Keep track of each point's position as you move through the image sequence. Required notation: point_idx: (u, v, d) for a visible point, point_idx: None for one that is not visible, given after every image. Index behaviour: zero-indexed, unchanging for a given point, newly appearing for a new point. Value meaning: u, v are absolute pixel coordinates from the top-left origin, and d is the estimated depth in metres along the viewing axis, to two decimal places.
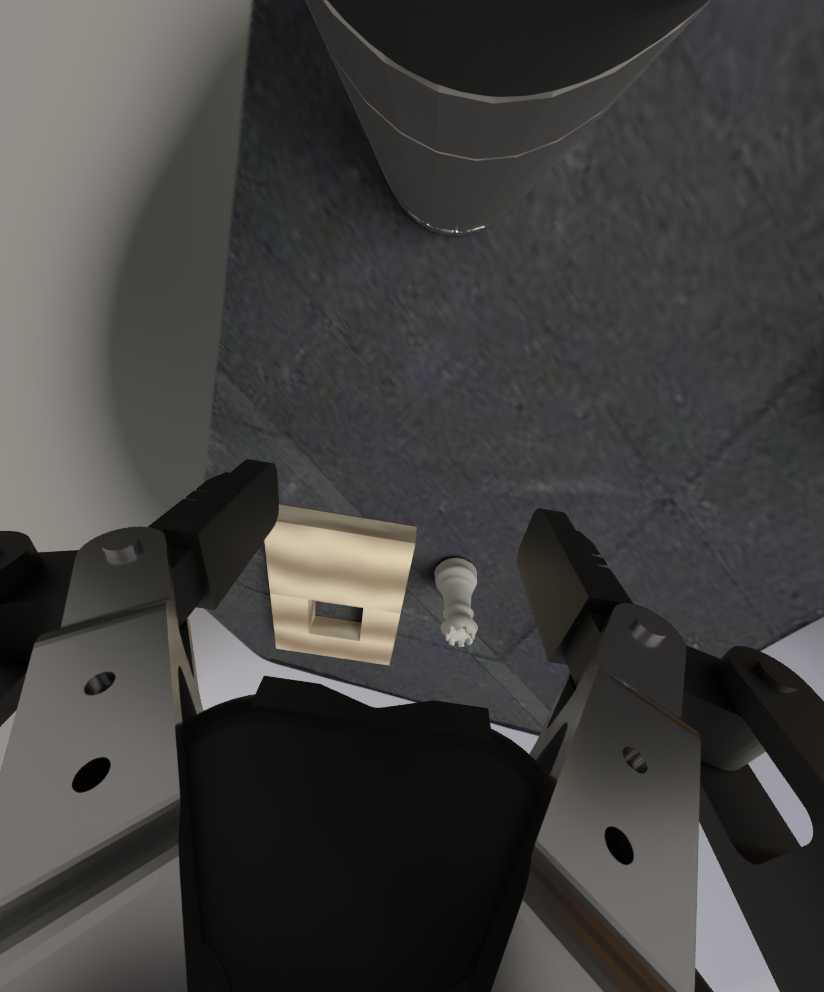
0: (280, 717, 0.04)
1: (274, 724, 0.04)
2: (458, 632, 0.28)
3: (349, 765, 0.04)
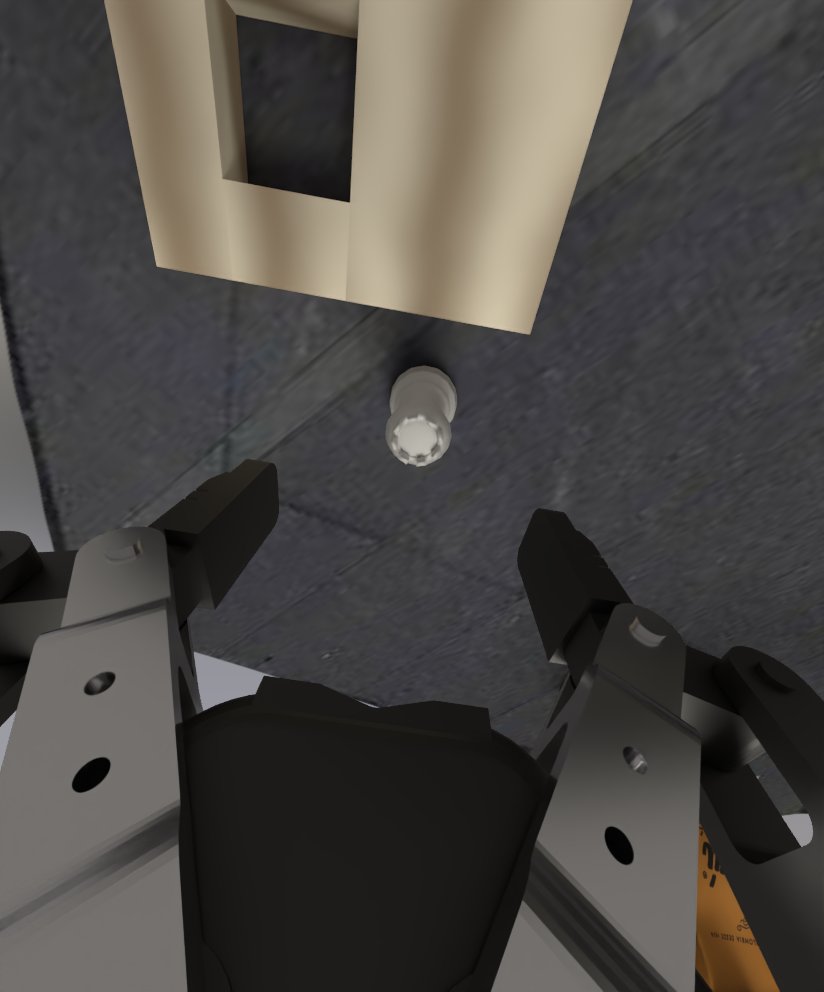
0: (280, 717, 0.04)
1: (274, 724, 0.04)
2: (425, 437, 0.16)
3: (349, 765, 0.04)
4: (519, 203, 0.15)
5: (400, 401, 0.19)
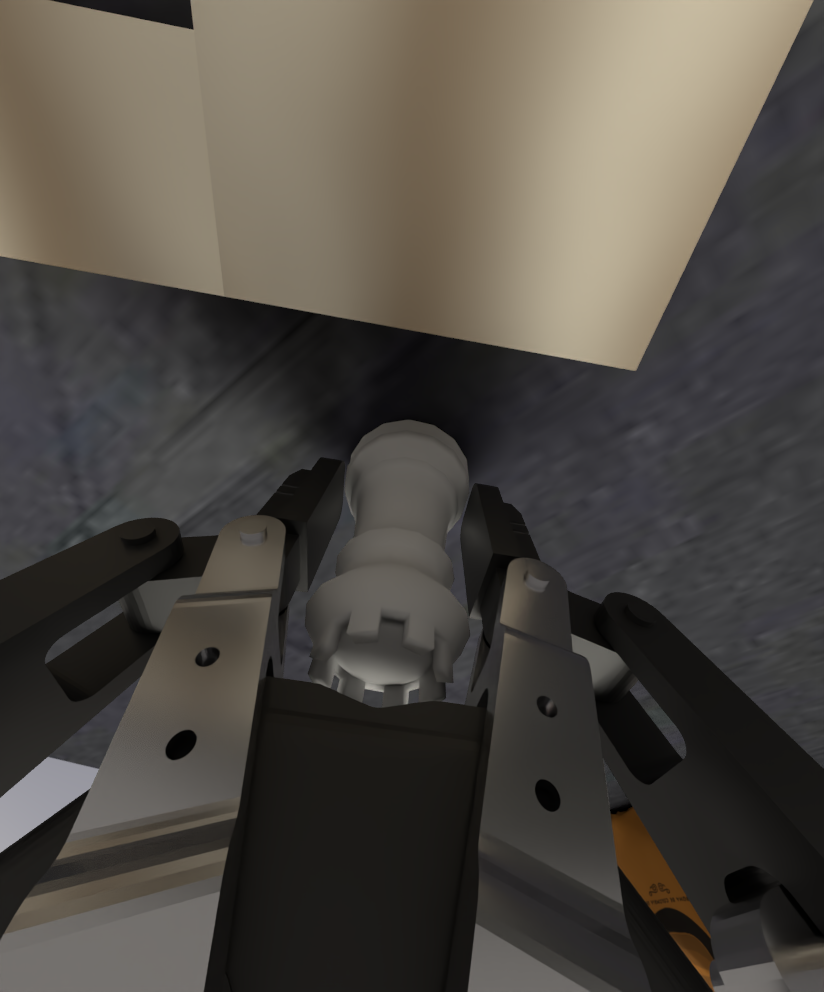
0: (280, 717, 0.04)
1: (274, 724, 0.04)
2: (401, 658, 0.06)
3: (349, 765, 0.04)
4: (659, 22, 0.05)
5: (359, 499, 0.10)
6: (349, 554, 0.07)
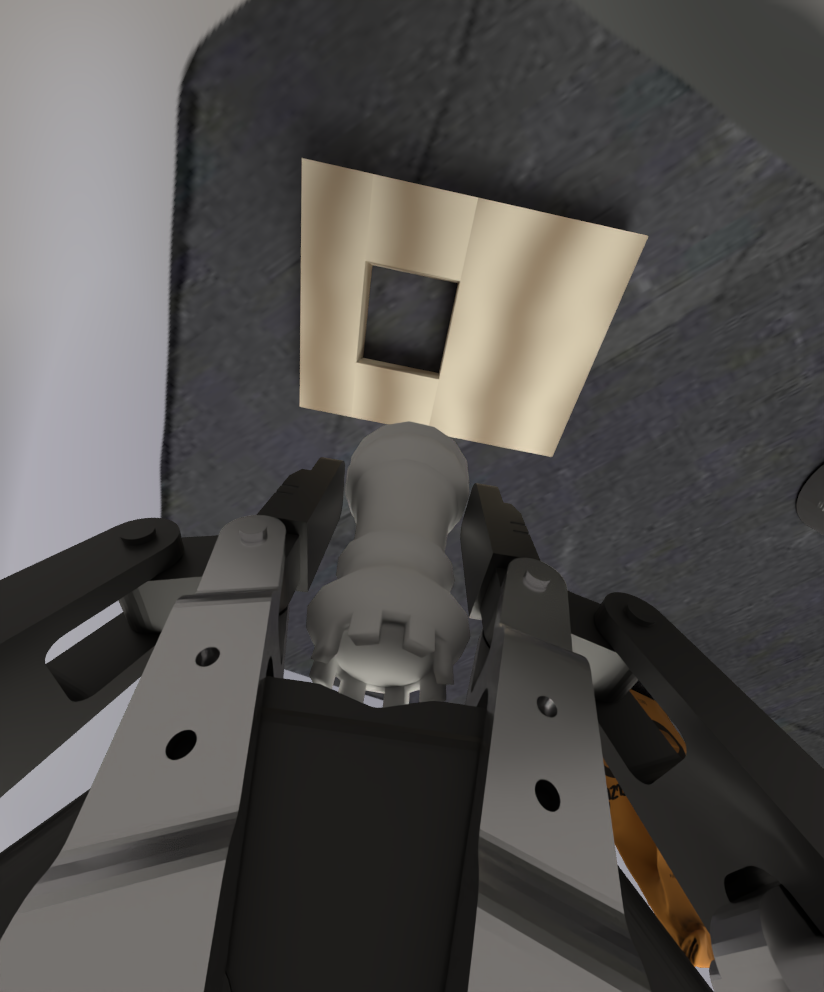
0: (280, 717, 0.04)
1: (274, 724, 0.04)
2: (402, 660, 0.06)
3: (349, 765, 0.04)
4: (549, 385, 0.23)
5: (359, 501, 0.10)
6: (350, 556, 0.07)
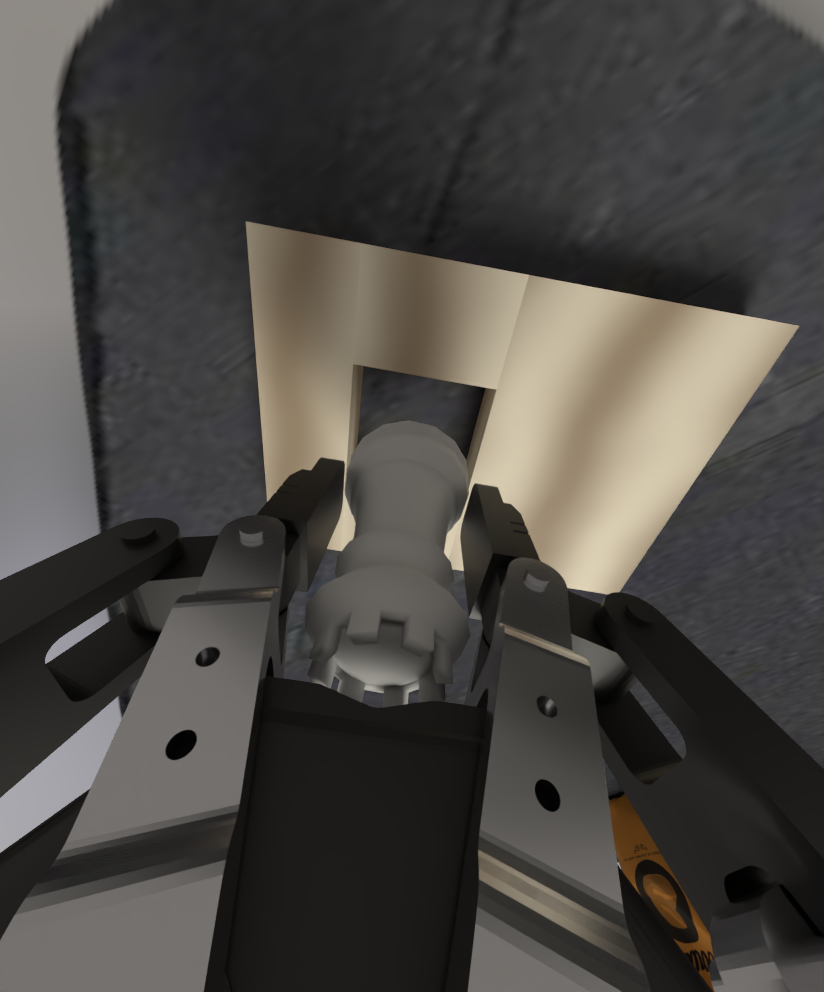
0: (280, 717, 0.04)
1: (274, 724, 0.04)
2: (401, 659, 0.06)
3: (349, 765, 0.04)
4: (621, 517, 0.16)
5: (359, 500, 0.10)
6: (349, 555, 0.07)
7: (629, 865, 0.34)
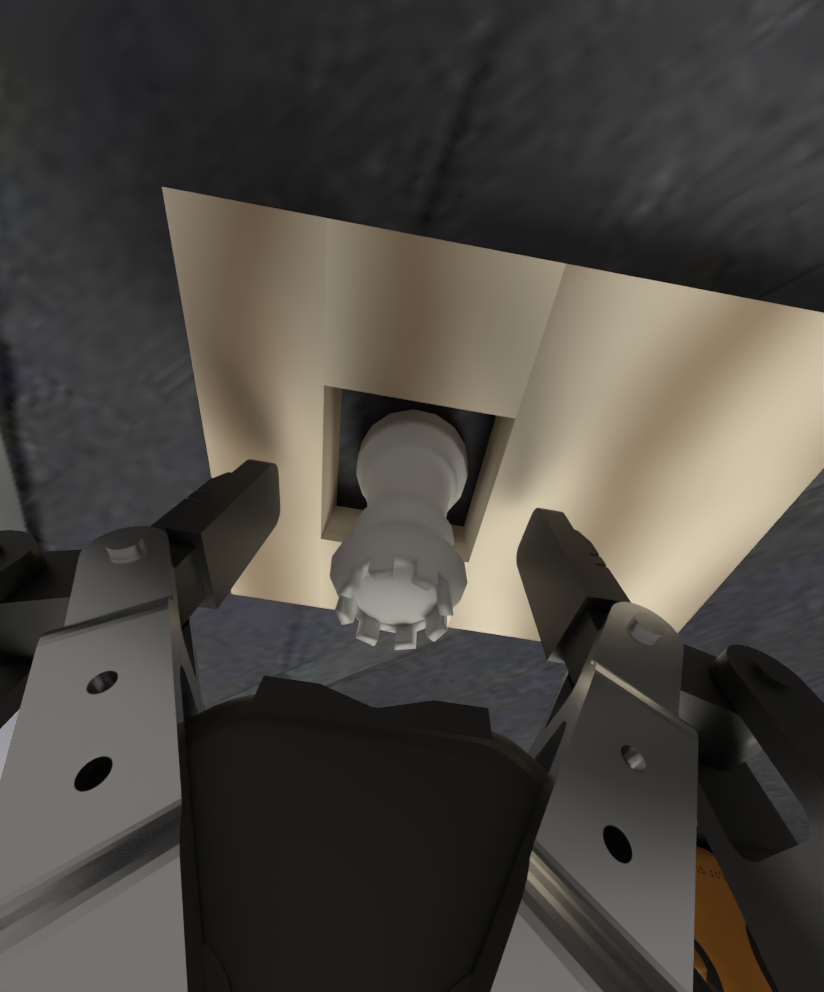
0: (280, 717, 0.04)
1: (274, 724, 0.04)
2: (411, 598, 0.07)
3: (349, 765, 0.04)
4: (668, 572, 0.13)
5: (370, 479, 0.11)
6: (365, 520, 0.09)
7: None
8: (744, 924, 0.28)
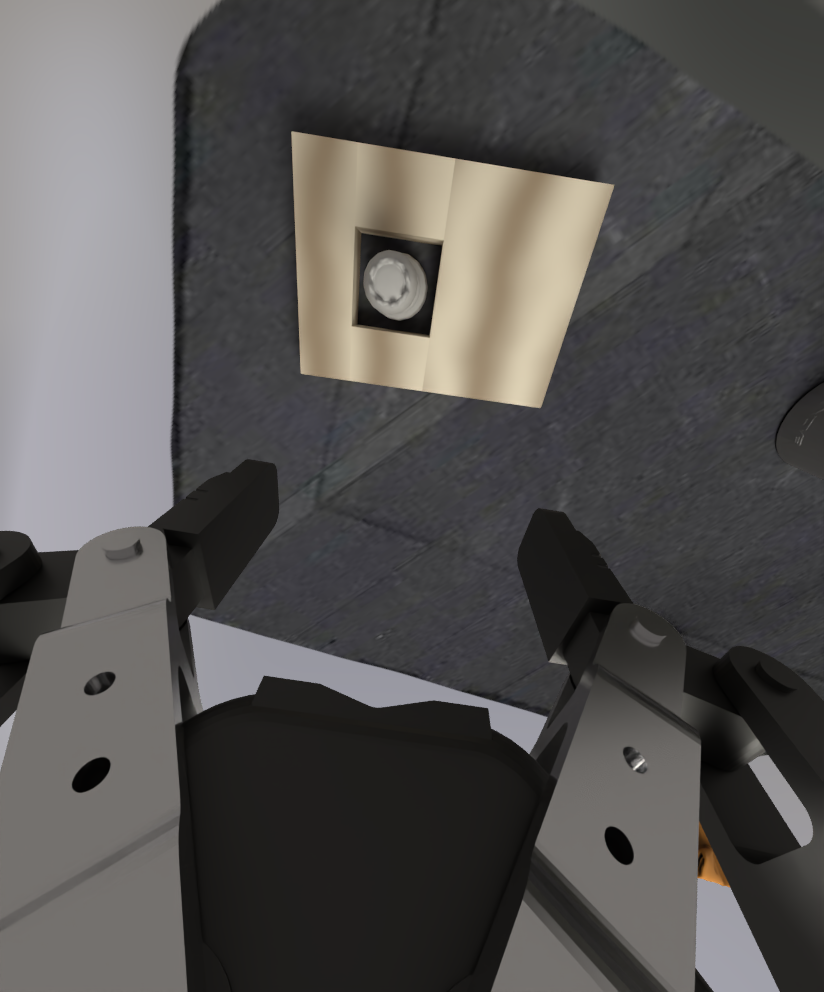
0: (280, 717, 0.04)
1: (274, 724, 0.04)
2: (395, 280, 0.19)
3: (349, 765, 0.04)
4: (533, 337, 0.25)
5: None
6: None
7: None
8: None
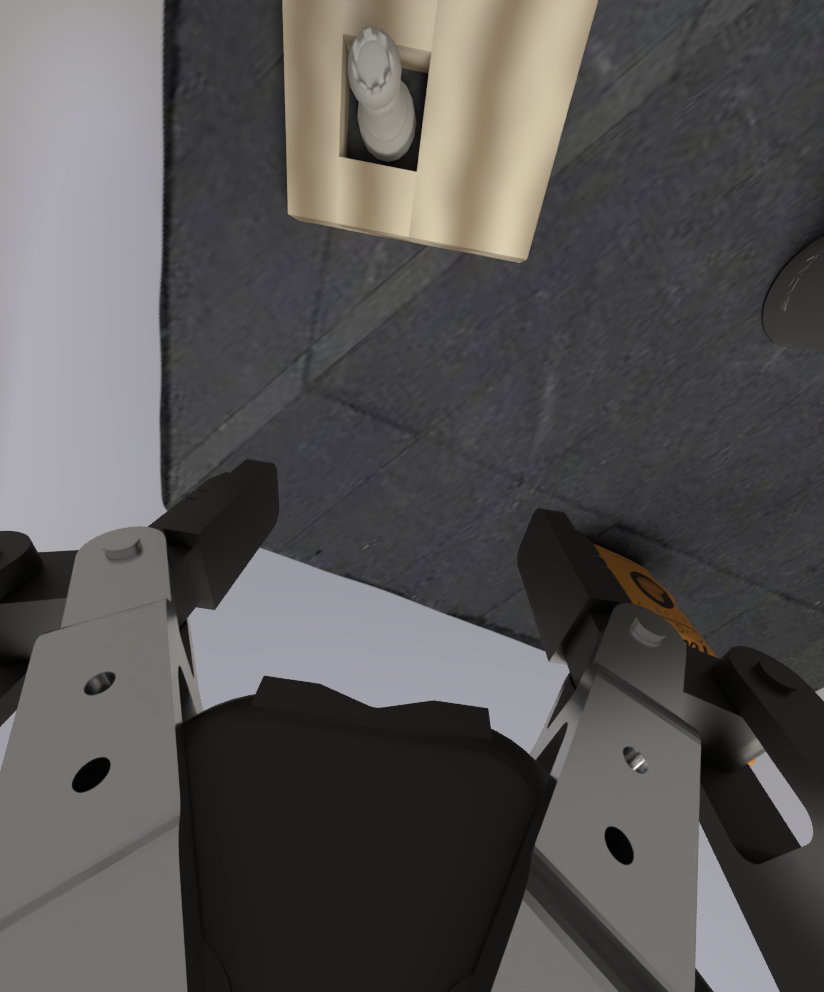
0: (280, 717, 0.04)
1: (274, 724, 0.04)
2: (378, 59, 0.19)
3: (349, 765, 0.04)
4: (520, 172, 0.25)
5: None
6: None
7: None
8: (630, 572, 0.40)
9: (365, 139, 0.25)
